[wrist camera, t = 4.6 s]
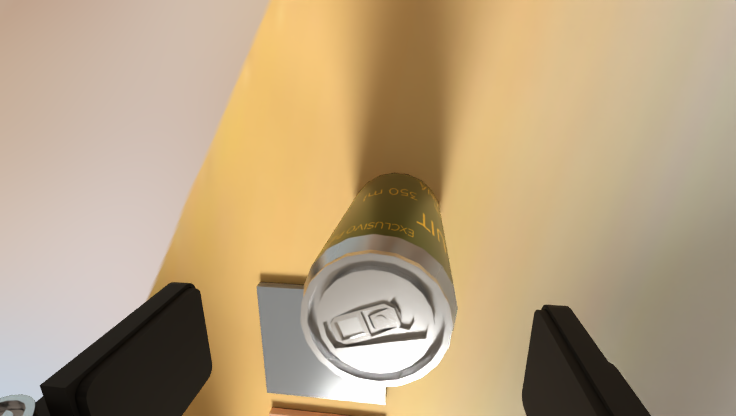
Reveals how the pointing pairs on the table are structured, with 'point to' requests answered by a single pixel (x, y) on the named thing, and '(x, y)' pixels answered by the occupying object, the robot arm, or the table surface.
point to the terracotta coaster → (297, 413)
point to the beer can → (382, 287)
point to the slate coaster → (299, 352)
